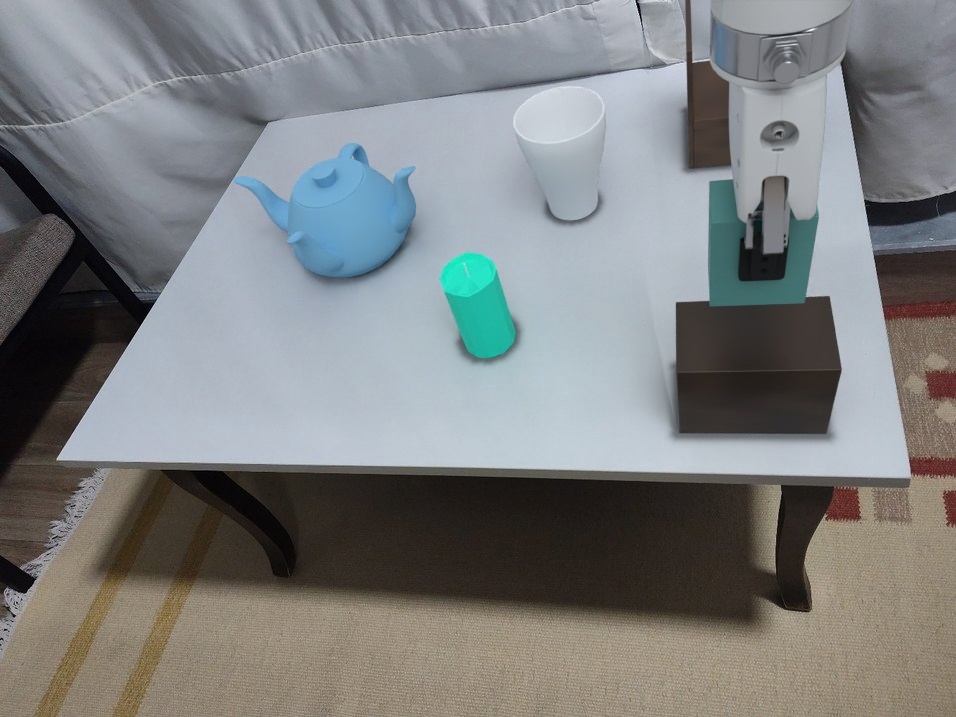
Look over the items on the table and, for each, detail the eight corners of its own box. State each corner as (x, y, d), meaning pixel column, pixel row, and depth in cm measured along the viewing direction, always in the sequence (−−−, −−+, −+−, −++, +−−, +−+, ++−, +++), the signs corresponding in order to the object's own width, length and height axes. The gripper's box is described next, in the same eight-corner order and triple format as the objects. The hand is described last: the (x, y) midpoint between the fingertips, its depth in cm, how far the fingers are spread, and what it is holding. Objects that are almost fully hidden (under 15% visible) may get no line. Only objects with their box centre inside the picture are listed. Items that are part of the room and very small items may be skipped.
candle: (464, 321, 87) (435, 247, 78) (514, 313, 86) (492, 237, 77) (464, 362, 84) (434, 289, 75) (517, 354, 83) (493, 279, 74)
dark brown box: (816, 363, 73) (829, 295, 66) (826, 434, 69) (842, 369, 61) (678, 366, 77) (675, 301, 69) (679, 433, 72) (676, 372, 65)
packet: (798, 261, 61) (811, 172, 54) (804, 303, 58) (819, 216, 51) (707, 265, 63) (709, 180, 56) (709, 306, 60) (711, 223, 53)
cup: (530, 237, 93) (508, 149, 83) (535, 181, 100) (515, 92, 89) (616, 229, 91) (605, 137, 80) (616, 172, 97) (605, 79, 87)
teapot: (331, 316, 93) (289, 245, 84) (272, 244, 104) (229, 174, 95) (444, 241, 97) (416, 165, 87) (375, 179, 108) (343, 106, 98)
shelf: (794, 98, 98) (808, -24, 85) (804, 158, 91) (820, 35, 78) (687, 110, 101) (685, -6, 89) (688, 168, 94) (686, 52, 82)
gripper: (872, 111, 38) (825, 338, 52) (830, -53, 47) (800, 175, 62) (715, 126, 40) (710, 340, 54) (705, -34, 49) (703, 182, 64)
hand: (758, 250), depth 57 cm, fingers closed on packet, 4 cm apart
